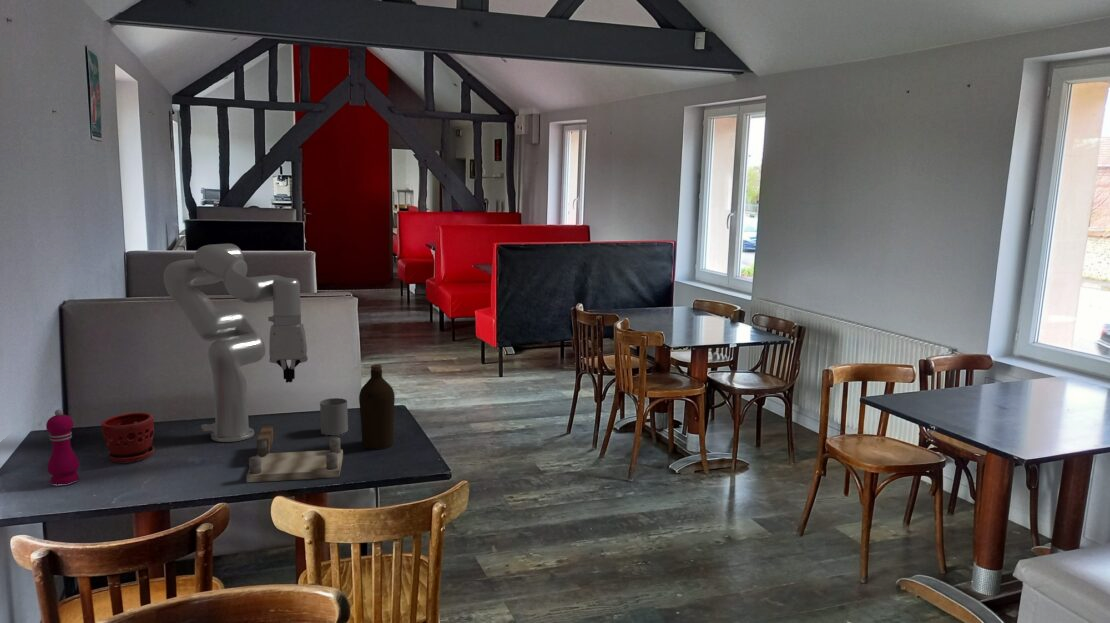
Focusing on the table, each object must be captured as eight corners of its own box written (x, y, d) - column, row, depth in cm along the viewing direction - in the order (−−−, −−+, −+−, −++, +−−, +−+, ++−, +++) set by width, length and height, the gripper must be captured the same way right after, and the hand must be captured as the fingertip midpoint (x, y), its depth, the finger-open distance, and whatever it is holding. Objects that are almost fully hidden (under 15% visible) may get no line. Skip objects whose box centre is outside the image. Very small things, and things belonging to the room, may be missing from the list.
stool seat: (246, 482, 210) (245, 461, 209) (257, 460, 226) (256, 440, 225) (339, 477, 215) (338, 456, 214) (343, 455, 231) (342, 436, 230)
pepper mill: (46, 489, 203) (39, 414, 200) (51, 479, 210) (44, 407, 207) (78, 485, 206) (72, 411, 203) (82, 475, 213) (76, 404, 209)
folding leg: (268, 455, 223) (267, 441, 223) (256, 455, 223) (256, 442, 222) (273, 438, 238) (273, 425, 237) (263, 438, 237) (262, 426, 237)
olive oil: (397, 448, 238) (396, 368, 234) (361, 451, 235) (359, 370, 231) (393, 437, 248) (391, 360, 244) (358, 440, 245) (356, 362, 241)
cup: (319, 429, 255) (318, 399, 254) (345, 426, 259) (344, 397, 257) (323, 437, 248) (322, 406, 246) (349, 433, 251) (349, 403, 250)
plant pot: (141, 447, 236) (138, 409, 234) (164, 456, 228) (161, 417, 226) (95, 459, 225) (92, 419, 223) (118, 469, 218) (115, 428, 216)
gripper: (258, 323, 223) (260, 385, 226) (312, 322, 226) (314, 384, 229) (262, 318, 230) (264, 378, 233) (315, 317, 233) (316, 377, 237)
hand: (289, 381), depth 231 cm, fingers closed
